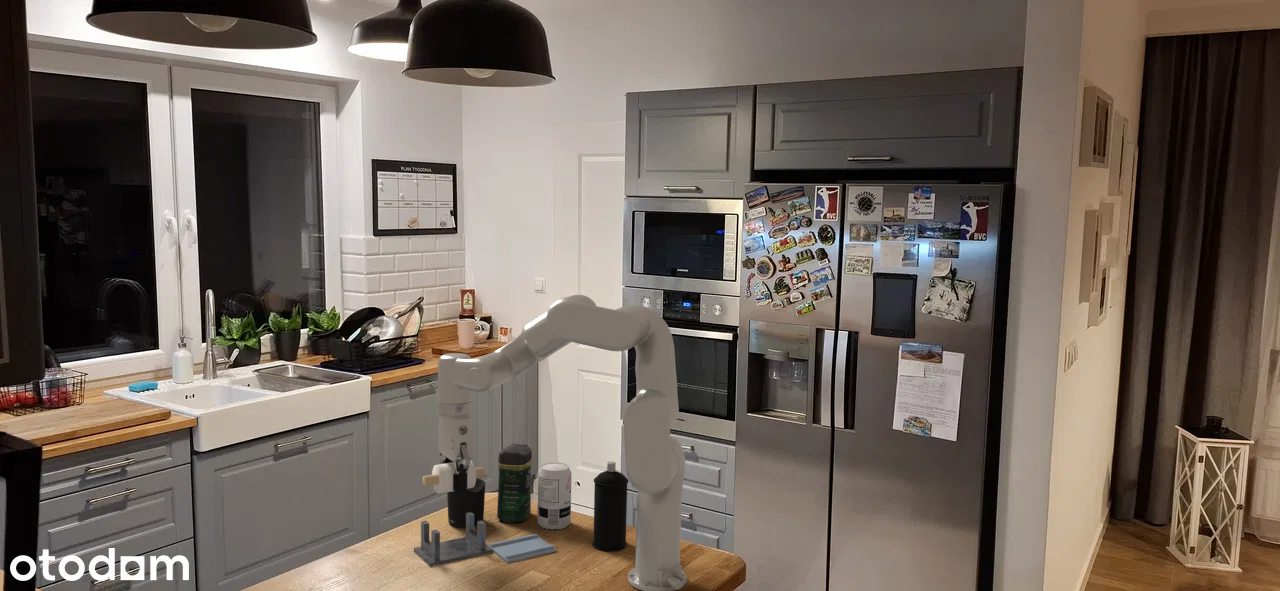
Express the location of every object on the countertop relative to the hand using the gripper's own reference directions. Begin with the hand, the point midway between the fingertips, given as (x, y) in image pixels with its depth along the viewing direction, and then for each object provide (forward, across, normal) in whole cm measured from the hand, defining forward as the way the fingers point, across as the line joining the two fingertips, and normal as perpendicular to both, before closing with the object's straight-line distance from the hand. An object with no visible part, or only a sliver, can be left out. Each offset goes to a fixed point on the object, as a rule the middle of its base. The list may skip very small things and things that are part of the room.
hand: (453, 484), depth 196 cm
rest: (+16, -7, -14) cm, 22 cm away
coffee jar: (+16, +13, -22) cm, 30 cm away
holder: (+16, 0, 0) cm, 16 cm away
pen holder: (+16, +16, -10) cm, 25 cm away
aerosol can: (+16, -15, -33) cm, 40 cm away
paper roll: (-2, 0, 0) cm, 2 cm away
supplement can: (+16, +3, -28) cm, 32 cm away
